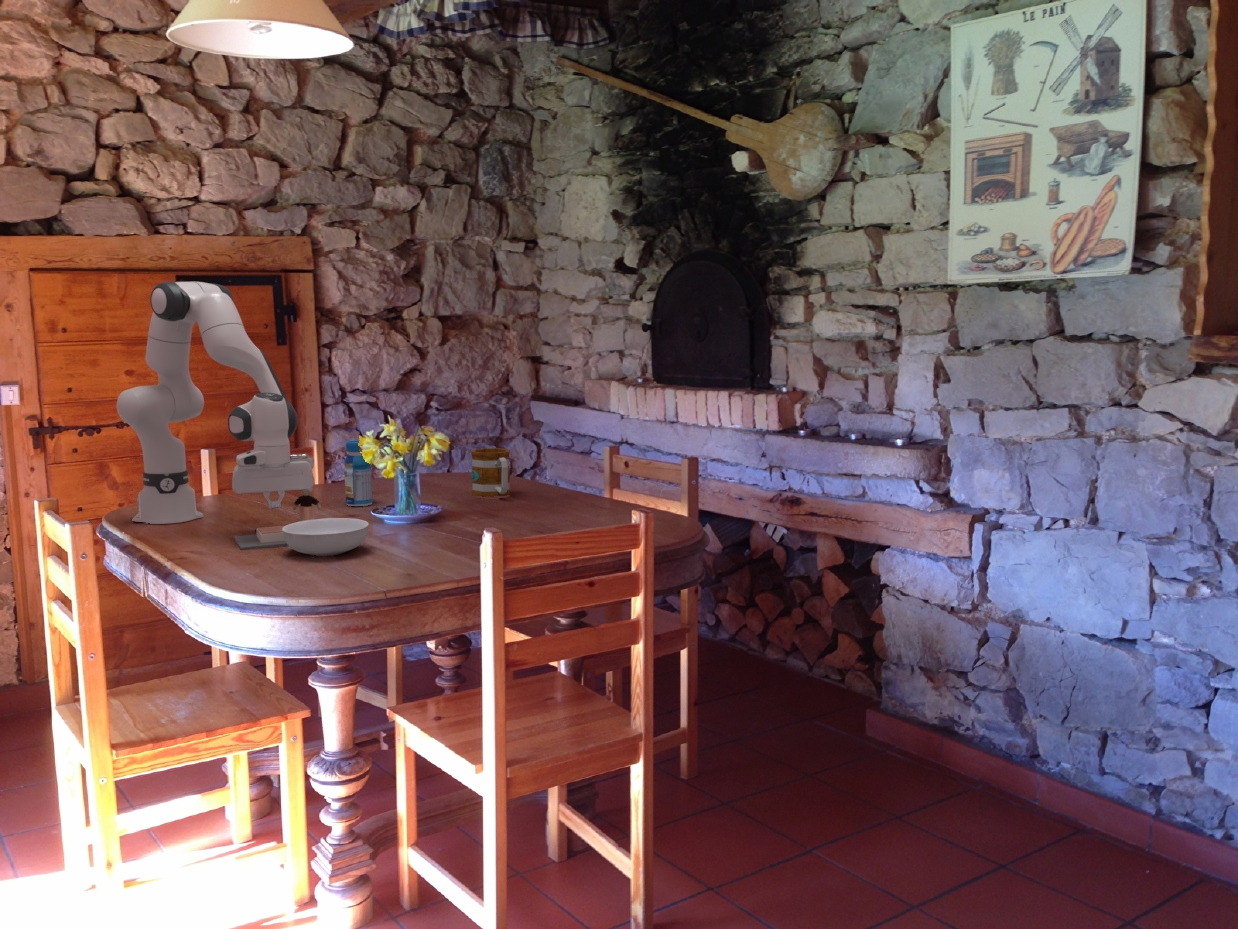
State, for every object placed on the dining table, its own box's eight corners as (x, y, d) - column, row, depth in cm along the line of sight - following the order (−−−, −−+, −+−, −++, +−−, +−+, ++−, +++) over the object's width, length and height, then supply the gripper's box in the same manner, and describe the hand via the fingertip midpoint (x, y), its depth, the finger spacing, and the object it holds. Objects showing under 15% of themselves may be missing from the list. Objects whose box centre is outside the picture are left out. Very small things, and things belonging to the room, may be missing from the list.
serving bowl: (336, 539, 275) (335, 514, 274) (386, 551, 262) (385, 524, 261) (266, 553, 259) (264, 526, 258) (315, 566, 246) (314, 537, 245)
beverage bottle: (366, 507, 320) (364, 443, 317) (340, 506, 321) (338, 442, 318) (377, 502, 328) (375, 440, 325) (351, 502, 330) (349, 439, 327)
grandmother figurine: (292, 530, 286) (291, 484, 284) (293, 527, 290) (291, 482, 288) (321, 528, 288) (320, 483, 286) (321, 526, 292) (320, 481, 290)
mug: (464, 494, 345) (464, 449, 343) (502, 491, 351) (502, 447, 349) (486, 503, 328) (485, 456, 326) (525, 500, 334) (525, 454, 332)
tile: (256, 527, 274) (295, 524, 278) (256, 536, 274) (295, 533, 279) (260, 533, 267) (300, 529, 271) (261, 542, 267) (301, 539, 272)
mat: (233, 538, 275) (233, 536, 275) (296, 533, 282) (296, 531, 282) (240, 549, 262) (240, 547, 262) (306, 543, 269) (306, 541, 269)
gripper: (311, 452, 277) (313, 503, 279) (229, 456, 268) (232, 509, 270) (315, 454, 271) (317, 506, 273) (232, 459, 262) (235, 513, 264)
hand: (274, 508), depth 272 cm, fingers closed
